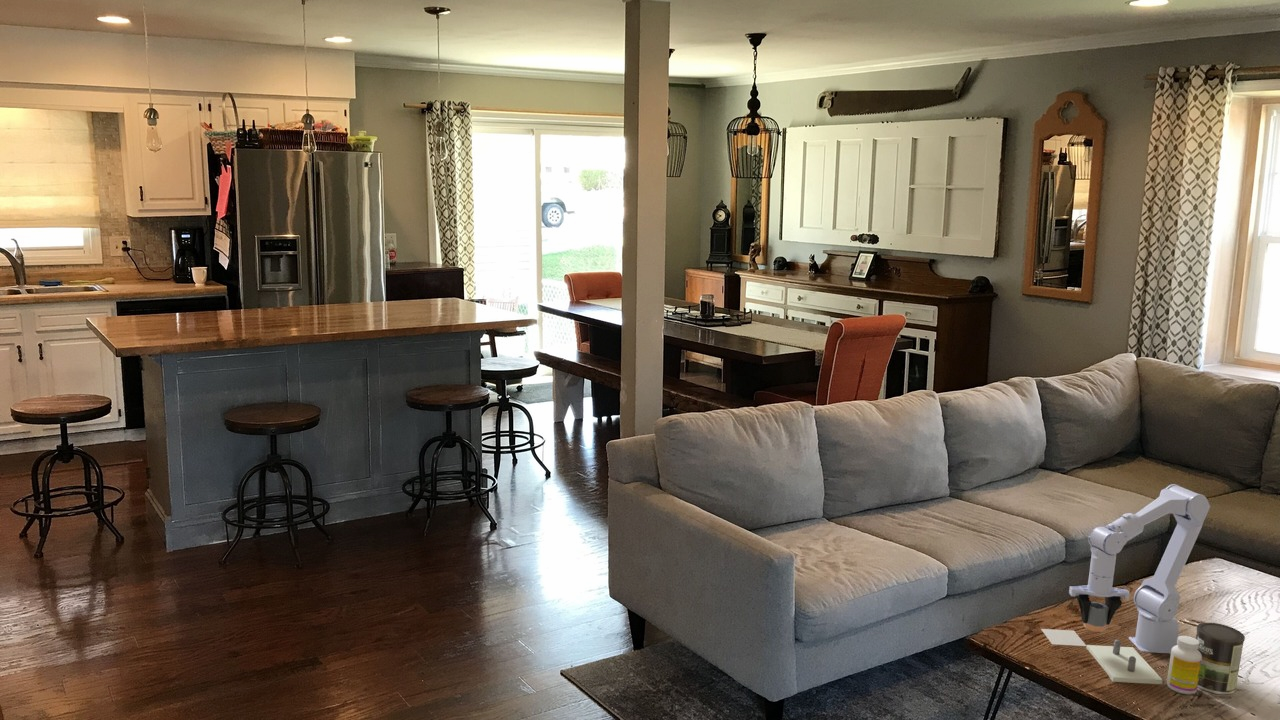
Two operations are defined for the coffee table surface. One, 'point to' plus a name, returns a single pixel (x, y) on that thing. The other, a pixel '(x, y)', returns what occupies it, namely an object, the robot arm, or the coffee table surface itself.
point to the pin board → (1124, 664)
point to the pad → (1063, 637)
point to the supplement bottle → (1184, 666)
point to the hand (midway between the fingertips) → (1095, 622)
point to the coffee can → (1219, 657)
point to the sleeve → (1097, 617)
